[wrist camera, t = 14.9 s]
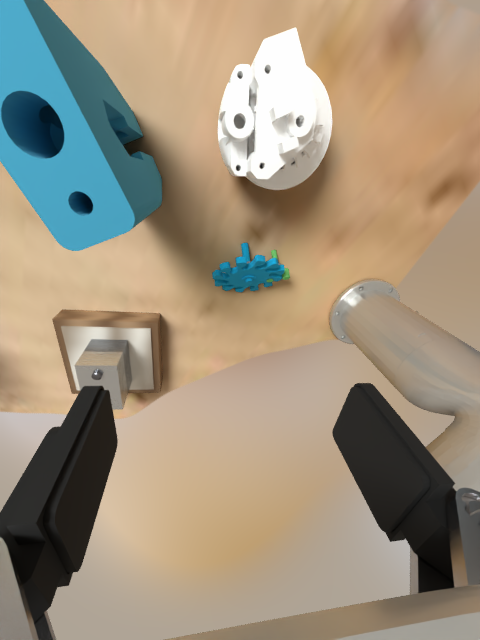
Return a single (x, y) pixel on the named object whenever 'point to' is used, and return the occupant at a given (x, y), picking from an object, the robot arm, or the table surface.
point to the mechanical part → (275, 116)
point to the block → (68, 132)
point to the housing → (106, 368)
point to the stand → (130, 326)
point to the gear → (250, 272)
